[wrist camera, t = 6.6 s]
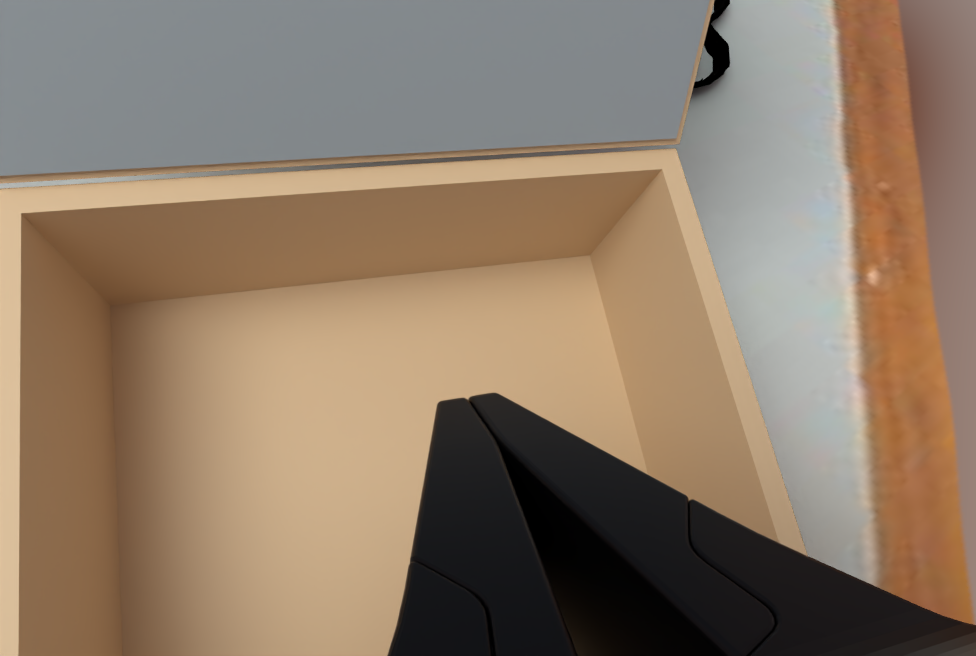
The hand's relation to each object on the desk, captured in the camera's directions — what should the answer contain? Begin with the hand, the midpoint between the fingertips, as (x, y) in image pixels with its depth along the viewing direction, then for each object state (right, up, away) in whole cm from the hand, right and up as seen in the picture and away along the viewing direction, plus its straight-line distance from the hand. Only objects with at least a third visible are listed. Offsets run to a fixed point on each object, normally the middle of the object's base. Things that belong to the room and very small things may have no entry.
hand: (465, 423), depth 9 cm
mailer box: (-2, -4, +10) cm, 11 cm away
